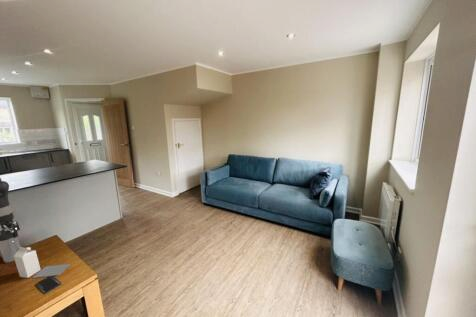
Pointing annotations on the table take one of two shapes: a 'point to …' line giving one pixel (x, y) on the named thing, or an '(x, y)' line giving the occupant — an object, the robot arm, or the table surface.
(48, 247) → the table surface
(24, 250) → the milk carton
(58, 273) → the mat
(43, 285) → the phone
